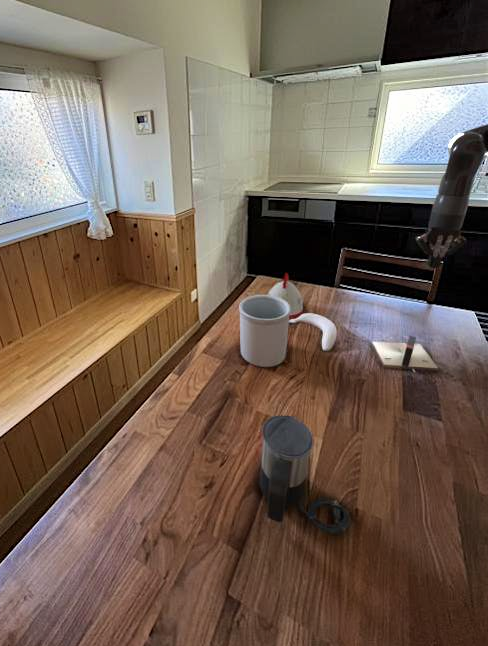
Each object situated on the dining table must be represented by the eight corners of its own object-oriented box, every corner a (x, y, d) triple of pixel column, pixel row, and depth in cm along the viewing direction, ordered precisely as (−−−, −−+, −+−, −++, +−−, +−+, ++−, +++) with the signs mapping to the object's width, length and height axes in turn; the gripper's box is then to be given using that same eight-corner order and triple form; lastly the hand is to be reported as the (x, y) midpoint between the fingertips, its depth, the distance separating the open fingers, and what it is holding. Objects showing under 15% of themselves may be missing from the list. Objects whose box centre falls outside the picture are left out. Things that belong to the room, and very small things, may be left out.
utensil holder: (228, 355, 106) (228, 307, 99) (256, 334, 115) (258, 289, 108) (268, 377, 96) (271, 326, 89) (295, 353, 105) (300, 304, 98)
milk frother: (256, 463, 73) (259, 413, 66) (332, 468, 71) (342, 417, 65) (262, 537, 60) (267, 484, 54) (355, 546, 58) (371, 492, 52)
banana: (341, 354, 104) (292, 351, 106) (329, 323, 121) (287, 320, 124) (343, 341, 102) (293, 338, 104) (330, 311, 119) (288, 309, 122)
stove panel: (418, 349, 104) (420, 343, 103) (441, 380, 92) (443, 374, 91) (370, 346, 107) (371, 340, 106) (385, 376, 94) (387, 370, 93)
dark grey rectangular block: (404, 351, 100) (409, 334, 98) (411, 353, 99) (416, 336, 97) (401, 364, 95) (406, 347, 93) (408, 367, 94) (413, 349, 92)
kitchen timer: (261, 315, 126) (263, 279, 120) (268, 298, 137) (270, 264, 131) (300, 322, 121) (304, 285, 115) (304, 303, 132) (308, 269, 126)
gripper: (428, 213, 90) (413, 272, 97) (484, 213, 88) (465, 273, 95) (416, 207, 97) (403, 262, 104) (467, 206, 95) (450, 263, 102)
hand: (432, 267), depth 99 cm, fingers closed
